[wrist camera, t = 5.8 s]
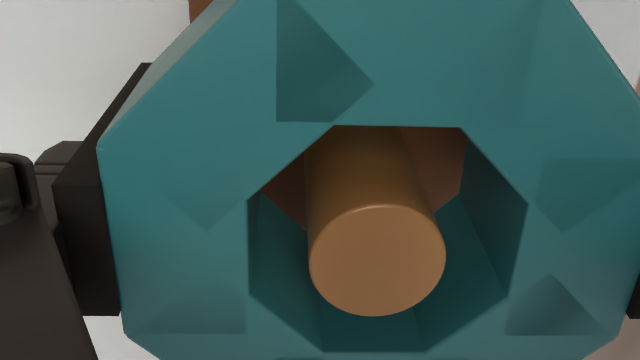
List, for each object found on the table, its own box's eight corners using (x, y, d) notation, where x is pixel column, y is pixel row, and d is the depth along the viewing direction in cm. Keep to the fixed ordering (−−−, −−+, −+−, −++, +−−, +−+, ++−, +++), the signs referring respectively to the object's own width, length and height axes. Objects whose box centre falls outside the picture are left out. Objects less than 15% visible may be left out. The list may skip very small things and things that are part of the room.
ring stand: (440, -73, 22) (674, 40, 9) (416, 127, 26) (554, 422, 13) (222, -80, 22) (113, 26, 8) (230, 124, 26) (163, 427, 12)
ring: (616, -56, 12) (745, -20, 9) (524, 314, 17) (584, 436, 13) (133, -73, 12) (65, -42, 8) (172, 312, 16) (138, 438, 13)
